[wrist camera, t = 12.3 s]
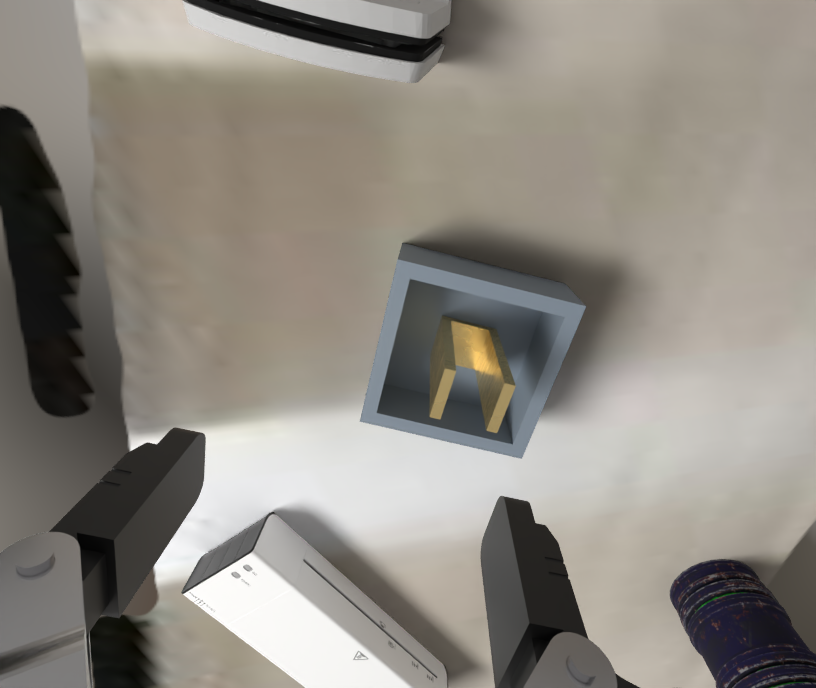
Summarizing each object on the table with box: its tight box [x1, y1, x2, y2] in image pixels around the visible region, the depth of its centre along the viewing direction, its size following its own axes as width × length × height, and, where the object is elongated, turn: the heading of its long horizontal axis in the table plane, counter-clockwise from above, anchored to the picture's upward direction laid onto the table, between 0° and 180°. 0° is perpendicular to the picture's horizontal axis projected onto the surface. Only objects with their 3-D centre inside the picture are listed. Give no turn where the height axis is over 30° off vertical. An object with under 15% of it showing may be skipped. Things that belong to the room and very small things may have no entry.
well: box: [360, 243, 586, 459], centre depth 39 cm, size 14×14×6 cm
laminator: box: [181, 512, 448, 688], centre depth 56 cm, size 34×12×6 cm, turn 38°
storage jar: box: [670, 559, 816, 688], centre depth 46 cm, size 10×10×15 cm
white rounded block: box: [182, 0, 452, 83], centre depth 29 cm, size 17×5×10 cm, turn 77°
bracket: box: [429, 315, 516, 433], centre depth 36 cm, size 5×4×10 cm
